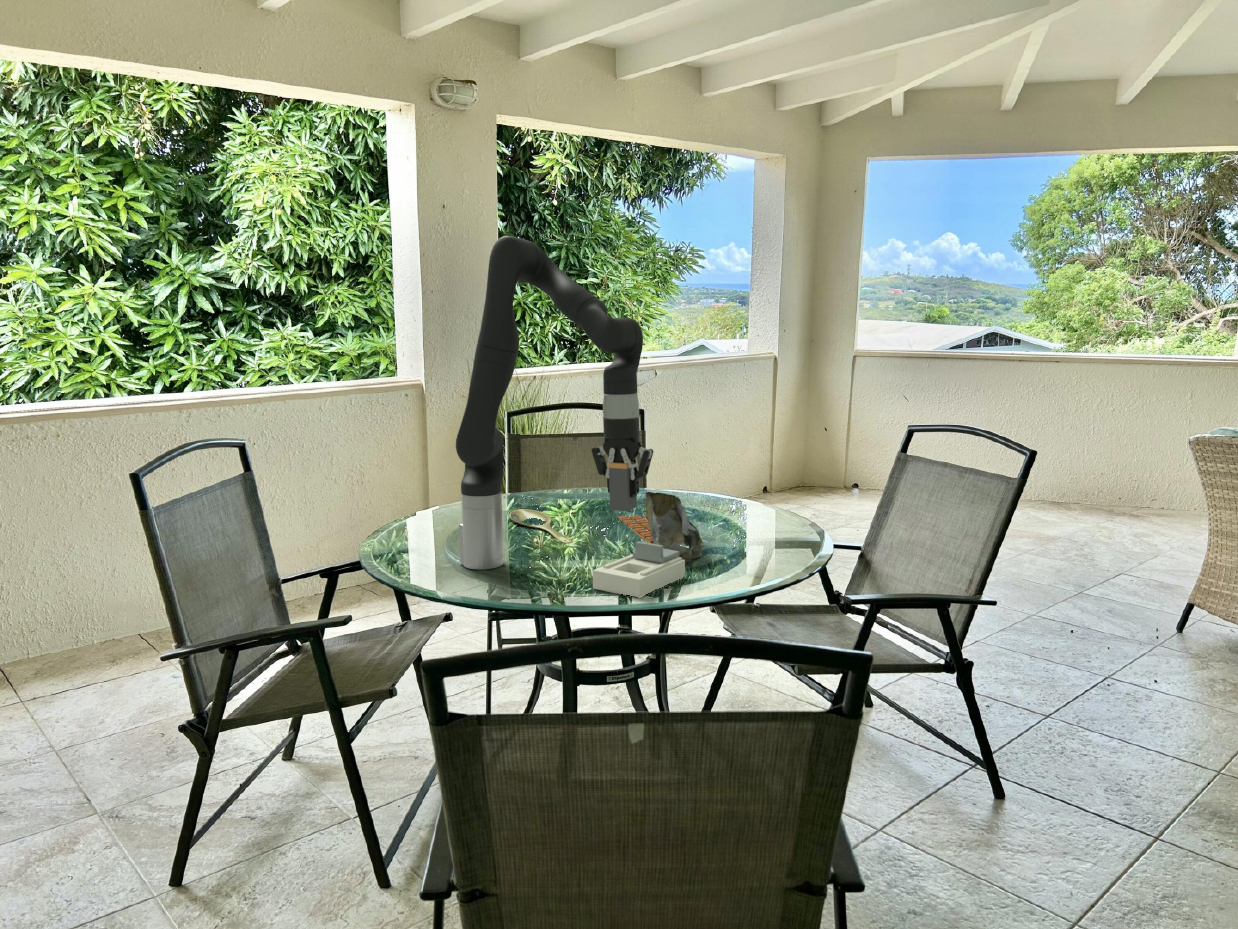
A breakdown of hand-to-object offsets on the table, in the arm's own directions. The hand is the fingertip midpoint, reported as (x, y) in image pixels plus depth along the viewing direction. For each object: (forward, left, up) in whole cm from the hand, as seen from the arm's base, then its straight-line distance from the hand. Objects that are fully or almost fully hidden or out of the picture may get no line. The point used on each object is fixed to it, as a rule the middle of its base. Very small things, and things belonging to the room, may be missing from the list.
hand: (623, 495), depth 192 cm
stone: (-7, +31, -20) cm, 38 cm away
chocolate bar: (-23, +49, -21) cm, 58 cm away
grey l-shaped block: (+1, +11, -16) cm, 19 cm away
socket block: (+1, +4, -20) cm, 21 cm away
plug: (0, 0, -3) cm, 3 cm away
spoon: (-48, +31, -21) cm, 61 cm away
